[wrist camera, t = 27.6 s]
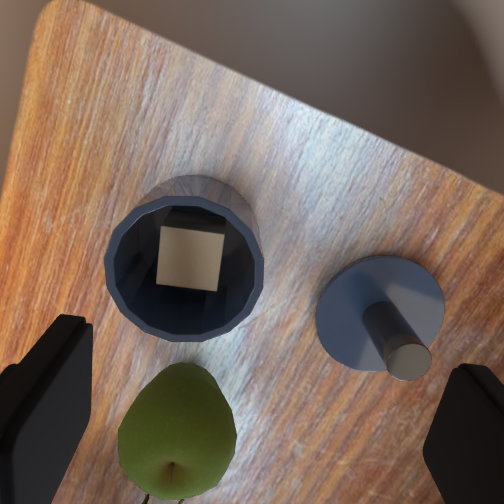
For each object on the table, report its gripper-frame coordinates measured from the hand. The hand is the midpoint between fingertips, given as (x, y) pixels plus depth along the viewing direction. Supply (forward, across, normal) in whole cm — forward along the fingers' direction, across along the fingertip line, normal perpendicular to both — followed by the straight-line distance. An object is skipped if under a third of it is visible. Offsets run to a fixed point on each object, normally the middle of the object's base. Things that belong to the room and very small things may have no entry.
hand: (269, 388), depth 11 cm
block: (+23, +4, +5) cm, 24 cm away
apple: (+24, +3, +18) cm, 30 cm away
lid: (+23, -12, +9) cm, 28 cm away
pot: (+24, +4, +5) cm, 24 cm away
